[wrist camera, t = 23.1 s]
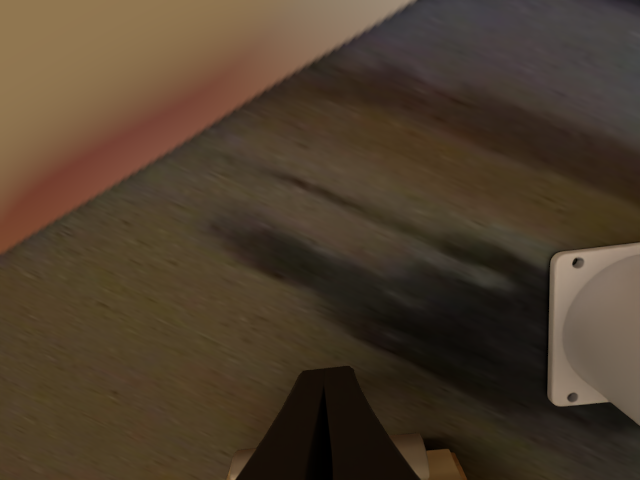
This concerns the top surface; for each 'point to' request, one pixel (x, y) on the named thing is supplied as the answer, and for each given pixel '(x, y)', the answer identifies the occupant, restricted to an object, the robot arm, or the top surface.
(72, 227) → the top surface
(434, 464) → the drawer
